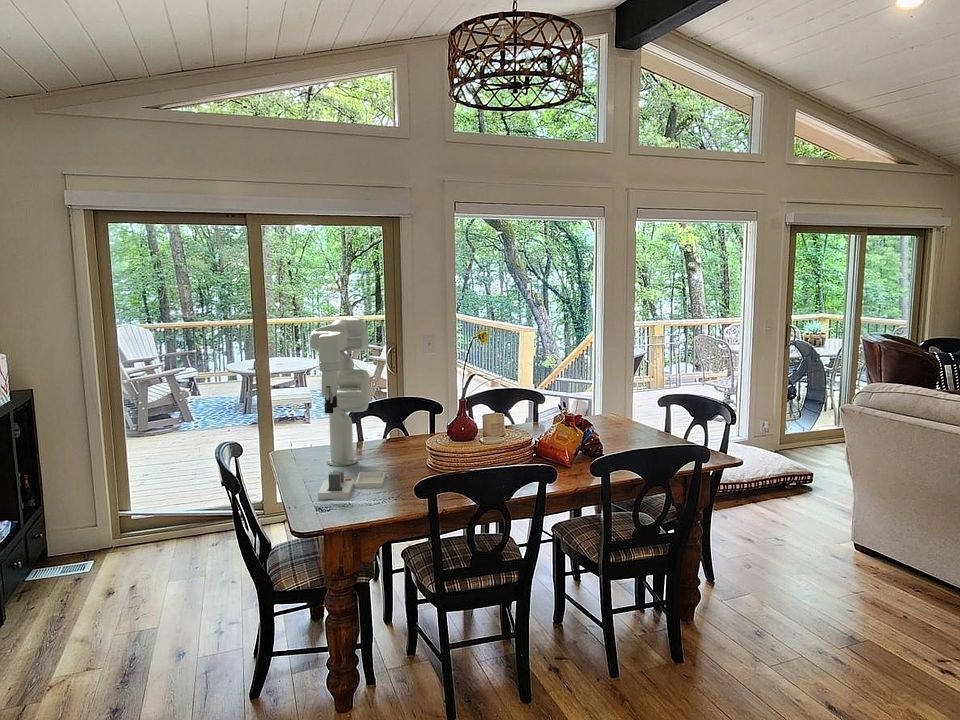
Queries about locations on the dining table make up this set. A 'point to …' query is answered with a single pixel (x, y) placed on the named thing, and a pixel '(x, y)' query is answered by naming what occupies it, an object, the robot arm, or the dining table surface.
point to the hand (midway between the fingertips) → (331, 410)
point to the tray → (370, 479)
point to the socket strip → (343, 494)
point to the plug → (335, 481)
